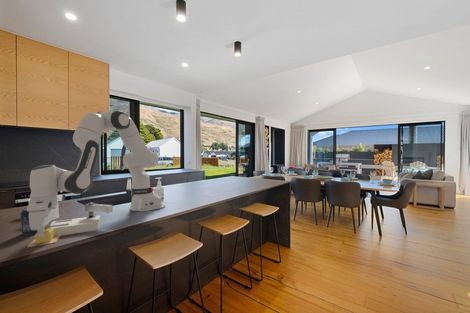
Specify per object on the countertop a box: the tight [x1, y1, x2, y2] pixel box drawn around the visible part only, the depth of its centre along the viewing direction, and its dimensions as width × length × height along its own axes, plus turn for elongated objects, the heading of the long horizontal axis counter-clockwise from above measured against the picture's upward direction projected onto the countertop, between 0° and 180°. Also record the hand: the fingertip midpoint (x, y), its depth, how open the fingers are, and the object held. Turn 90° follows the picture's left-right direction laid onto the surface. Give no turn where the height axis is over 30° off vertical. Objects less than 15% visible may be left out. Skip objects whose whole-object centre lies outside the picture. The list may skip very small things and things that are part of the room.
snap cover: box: [34, 228, 54, 244], centre depth 91 cm, size 5×5×5 cm
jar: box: [52, 203, 60, 222], centre depth 119 cm, size 9×8×12 cm
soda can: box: [20, 207, 37, 236], centre depth 100 cm, size 7×7×12 cm
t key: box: [84, 202, 114, 217], centre depth 110 cm, size 3×15×7 cm, turn 78°
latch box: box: [51, 215, 101, 237], centre depth 104 cm, size 20×12×5 cm, turn 118°
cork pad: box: [27, 235, 61, 248], centre depth 91 cm, size 9×9×1 cm
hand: (44, 233), depth 90 cm, fingers open, 6 cm apart
